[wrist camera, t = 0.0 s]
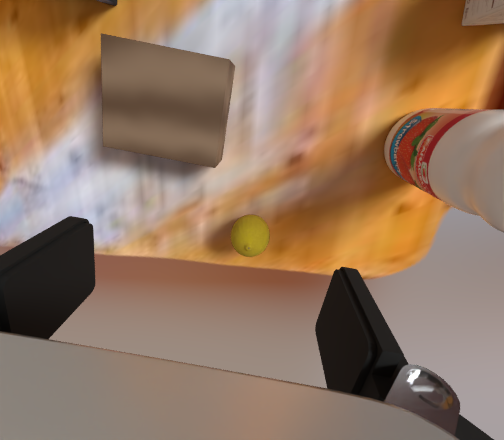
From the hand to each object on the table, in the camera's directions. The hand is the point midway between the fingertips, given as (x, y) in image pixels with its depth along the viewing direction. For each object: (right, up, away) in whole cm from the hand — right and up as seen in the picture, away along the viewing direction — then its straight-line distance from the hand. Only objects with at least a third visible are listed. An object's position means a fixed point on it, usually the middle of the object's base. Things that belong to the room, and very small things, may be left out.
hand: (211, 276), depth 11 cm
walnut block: (-8, +18, +27) cm, 34 cm away
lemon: (+2, +2, +33) cm, 33 cm away
